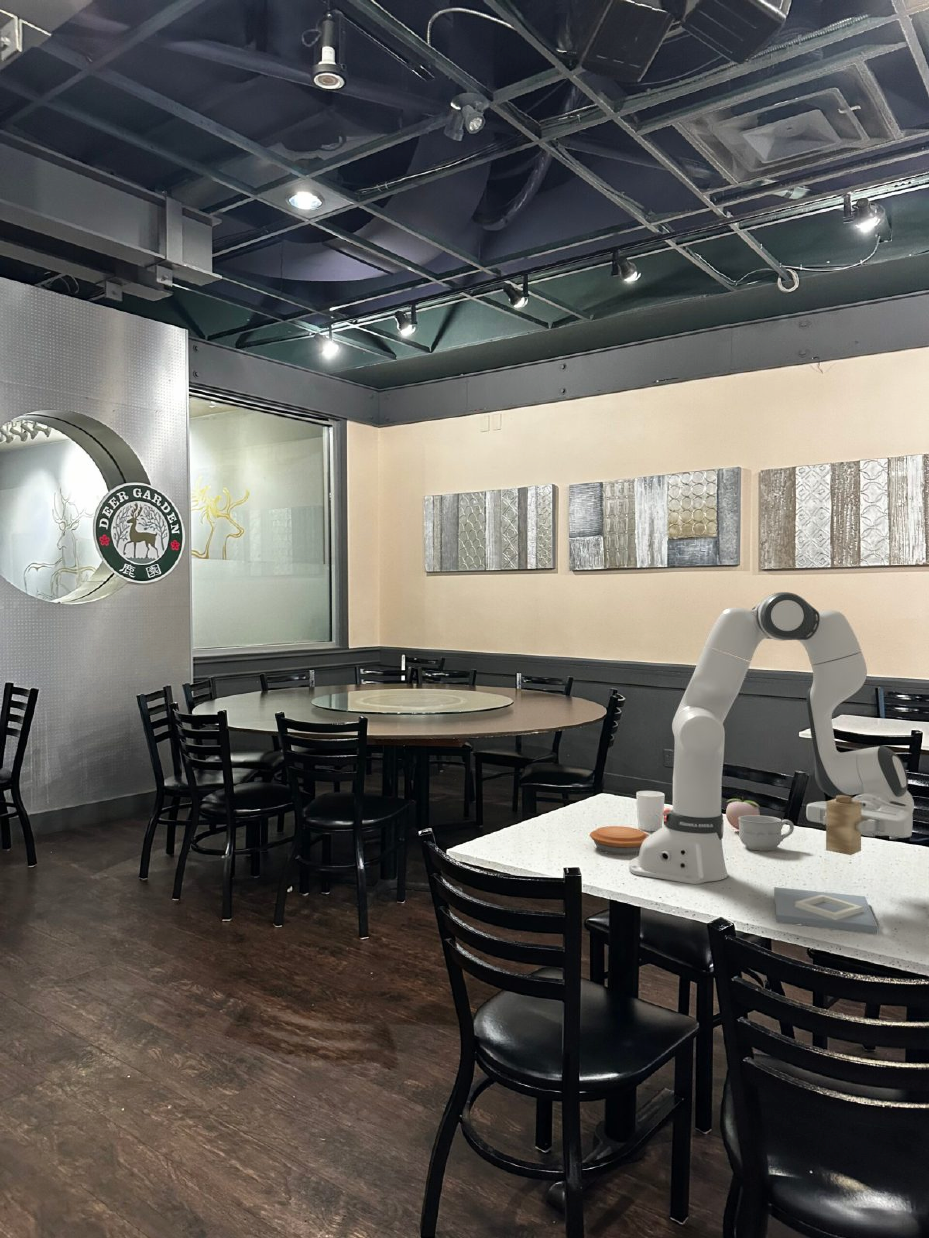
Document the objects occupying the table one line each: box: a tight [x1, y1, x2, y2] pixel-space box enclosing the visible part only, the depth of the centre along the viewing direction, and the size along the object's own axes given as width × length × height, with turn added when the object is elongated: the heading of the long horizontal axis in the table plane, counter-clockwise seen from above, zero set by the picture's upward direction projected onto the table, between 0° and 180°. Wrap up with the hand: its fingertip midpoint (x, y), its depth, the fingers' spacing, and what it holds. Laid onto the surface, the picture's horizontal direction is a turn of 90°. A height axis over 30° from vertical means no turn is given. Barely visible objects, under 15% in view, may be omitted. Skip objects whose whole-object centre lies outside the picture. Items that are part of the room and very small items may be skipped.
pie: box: [589, 825, 650, 856], centre depth 221 cm, size 16×16×5 cm
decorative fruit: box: [725, 796, 761, 831], centre depth 239 cm, size 9×8×10 cm
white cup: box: [635, 790, 666, 832], centre depth 243 cm, size 8×8×10 cm
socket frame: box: [795, 895, 863, 920], centre depth 171 cm, size 9×9×1 cm
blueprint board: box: [773, 886, 878, 935], centre depth 173 cm, size 18×18×2 cm
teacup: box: [738, 815, 795, 852], centre depth 222 cm, size 14×11×8 cm
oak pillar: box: [825, 795, 862, 856], centre depth 174 cm, size 5×5×11 cm
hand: (841, 824), depth 174 cm, fingers closed on oak pillar, 5 cm apart
